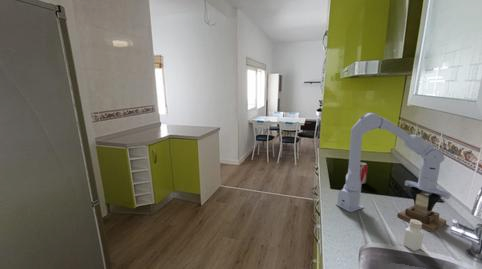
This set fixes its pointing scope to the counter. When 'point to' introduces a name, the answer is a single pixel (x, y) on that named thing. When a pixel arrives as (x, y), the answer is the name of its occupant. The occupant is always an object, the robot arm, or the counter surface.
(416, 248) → the salt shaker
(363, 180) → the beverage can
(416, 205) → the birch peg
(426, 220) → the peg holder
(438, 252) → the counter surface
